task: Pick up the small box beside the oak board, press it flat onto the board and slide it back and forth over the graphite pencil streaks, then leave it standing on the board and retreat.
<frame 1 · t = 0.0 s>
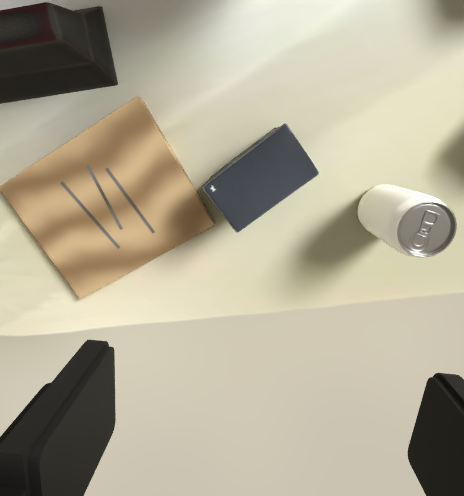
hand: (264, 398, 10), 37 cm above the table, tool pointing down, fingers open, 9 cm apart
small box: (256, 173, 45), on the table
barrier: (19, 62, 43), on the table
board: (110, 204, 47), on the table
can: (381, 208, 46), on the table
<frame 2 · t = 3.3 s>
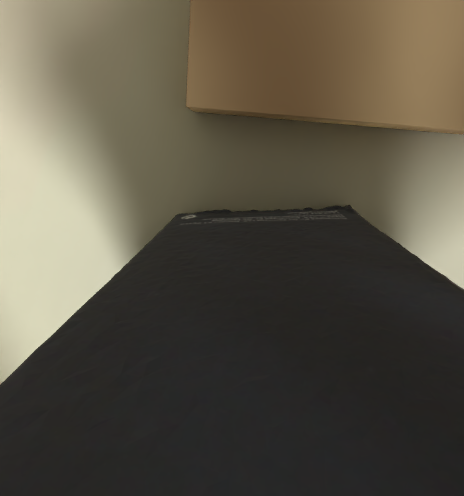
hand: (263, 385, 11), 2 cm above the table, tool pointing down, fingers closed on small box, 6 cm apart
small box: (260, 342, 13), on the table, touching gripper
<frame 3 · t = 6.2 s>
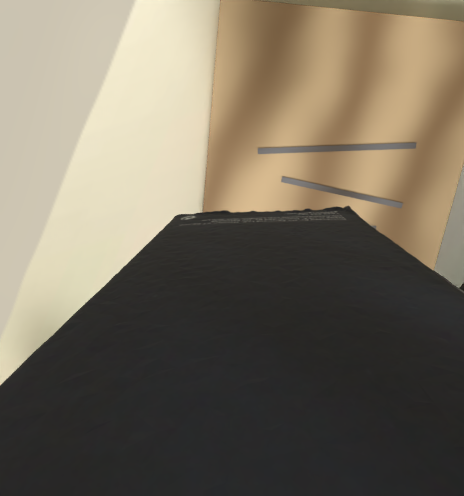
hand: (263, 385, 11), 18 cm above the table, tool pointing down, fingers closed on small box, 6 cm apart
small box: (260, 343, 13), point 16 cm above the table, touching gripper
board: (325, 182, 27), on the table
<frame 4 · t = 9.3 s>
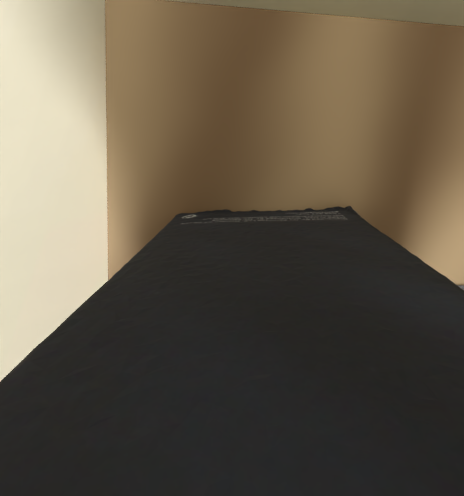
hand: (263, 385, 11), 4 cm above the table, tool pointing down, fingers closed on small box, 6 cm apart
small box: (260, 343, 13), point 1 cm above the table, touching gripper
board: (335, 334, 15), on the table
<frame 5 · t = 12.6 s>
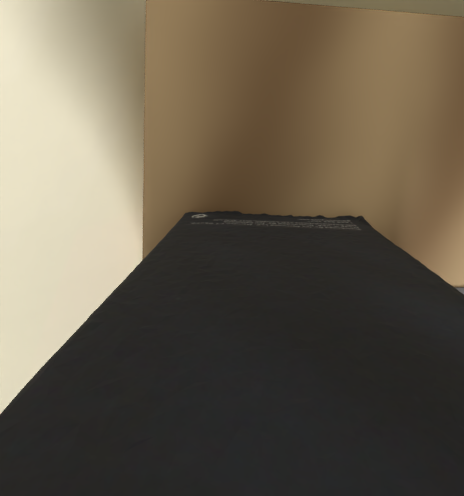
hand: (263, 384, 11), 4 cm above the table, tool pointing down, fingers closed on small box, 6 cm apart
small box: (260, 347, 13), point 1 cm above the table, touching gripper
board: (368, 335, 14), on the table
when the fingers open (4 cm above the table, at t = 15.3 s): small box stays where it is, resting on board.
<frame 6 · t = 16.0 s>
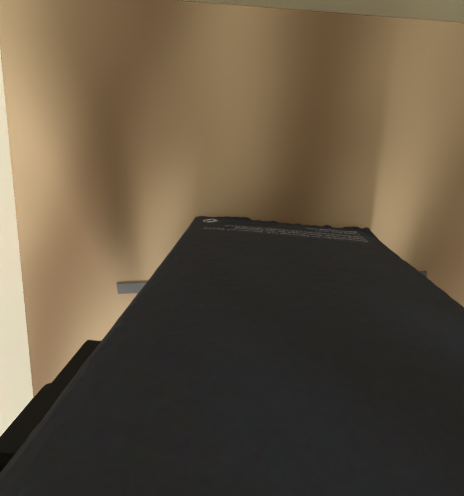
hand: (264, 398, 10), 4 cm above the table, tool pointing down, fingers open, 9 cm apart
small box: (261, 350, 13), point 1 cm above the table, touching board
board: (259, 324, 15), on the table
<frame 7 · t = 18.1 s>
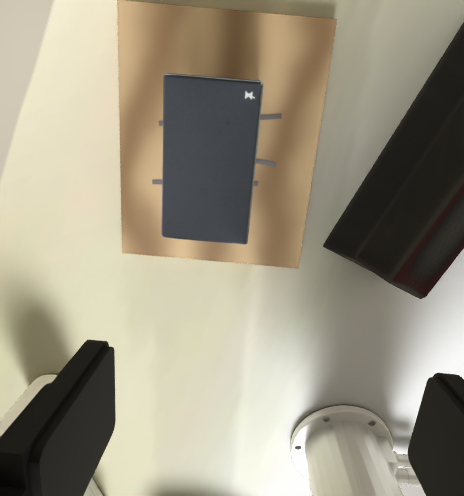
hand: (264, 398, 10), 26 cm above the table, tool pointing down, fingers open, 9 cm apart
small box: (218, 153, 32), point 1 cm above the table, touching board
barrier: (423, 161, 34), on the table
skincare box: (81, 491, 49), on the table
board: (218, 148, 33), on the table
can: (57, 392, 44), on the table
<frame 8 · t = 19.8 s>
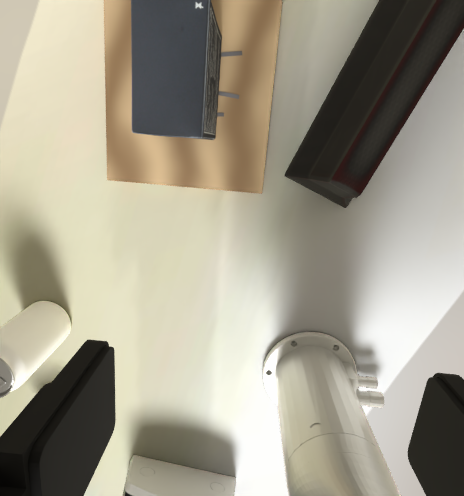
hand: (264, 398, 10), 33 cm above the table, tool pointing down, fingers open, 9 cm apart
small box: (189, 87, 38), point 1 cm above the table, touching board
white arched block: (183, 469, 55), on the table
barrier: (369, 96, 39), on the table
board: (190, 85, 39), on the table
can: (50, 320, 48), on the table
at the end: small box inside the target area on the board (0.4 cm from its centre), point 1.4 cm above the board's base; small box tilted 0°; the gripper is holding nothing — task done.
